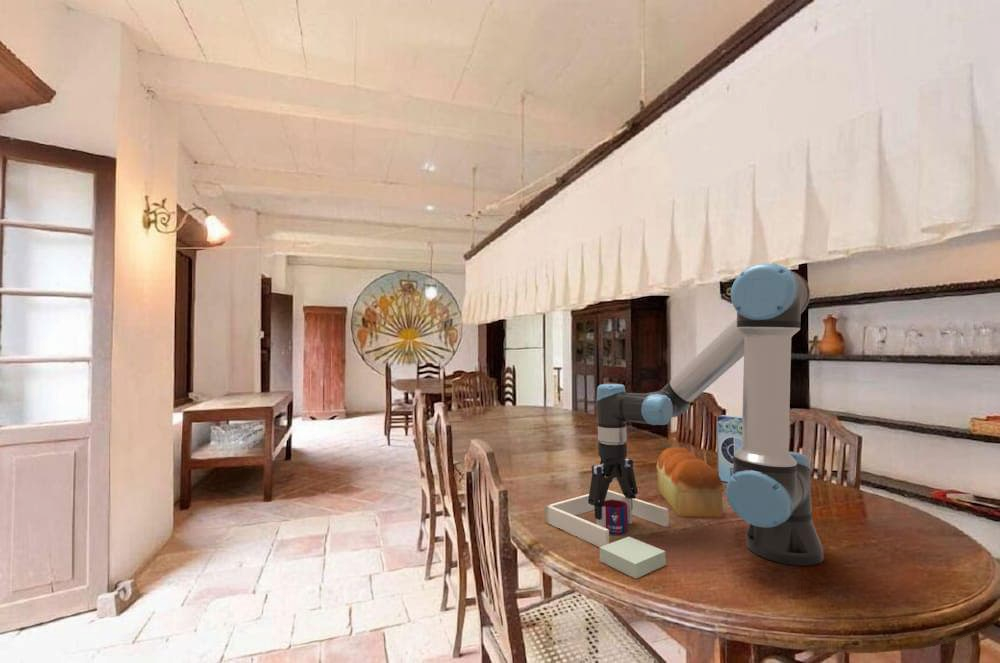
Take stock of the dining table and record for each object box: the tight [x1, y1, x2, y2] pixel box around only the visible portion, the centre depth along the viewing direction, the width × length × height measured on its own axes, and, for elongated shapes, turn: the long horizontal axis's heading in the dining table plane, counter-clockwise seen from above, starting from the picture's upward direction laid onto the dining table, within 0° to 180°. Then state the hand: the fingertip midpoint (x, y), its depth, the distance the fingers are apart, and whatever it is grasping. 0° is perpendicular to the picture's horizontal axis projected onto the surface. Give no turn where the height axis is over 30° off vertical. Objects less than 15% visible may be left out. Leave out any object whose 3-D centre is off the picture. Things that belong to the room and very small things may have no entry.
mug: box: [603, 499, 629, 536], centre depth 121 cm, size 7×10×7 cm
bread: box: [655, 446, 725, 518], centre depth 140 cm, size 25×12×15 cm, turn 174°
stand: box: [598, 536, 667, 579], centre depth 101 cm, size 10×10×3 cm
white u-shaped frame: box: [544, 489, 670, 548], centre depth 124 cm, size 22×24×4 cm
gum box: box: [716, 414, 743, 483], centre depth 156 cm, size 20×5×23 cm, turn 39°
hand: (614, 526), depth 121 cm, fingers open, 9 cm apart
